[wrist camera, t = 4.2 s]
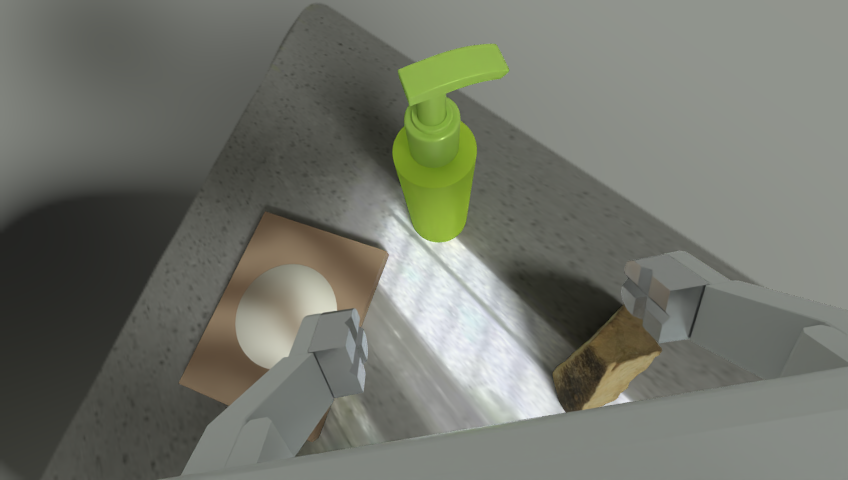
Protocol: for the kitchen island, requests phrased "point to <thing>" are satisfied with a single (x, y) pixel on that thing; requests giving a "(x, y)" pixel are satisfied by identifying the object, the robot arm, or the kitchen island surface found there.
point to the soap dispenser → (440, 138)
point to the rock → (605, 363)
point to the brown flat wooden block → (279, 303)
